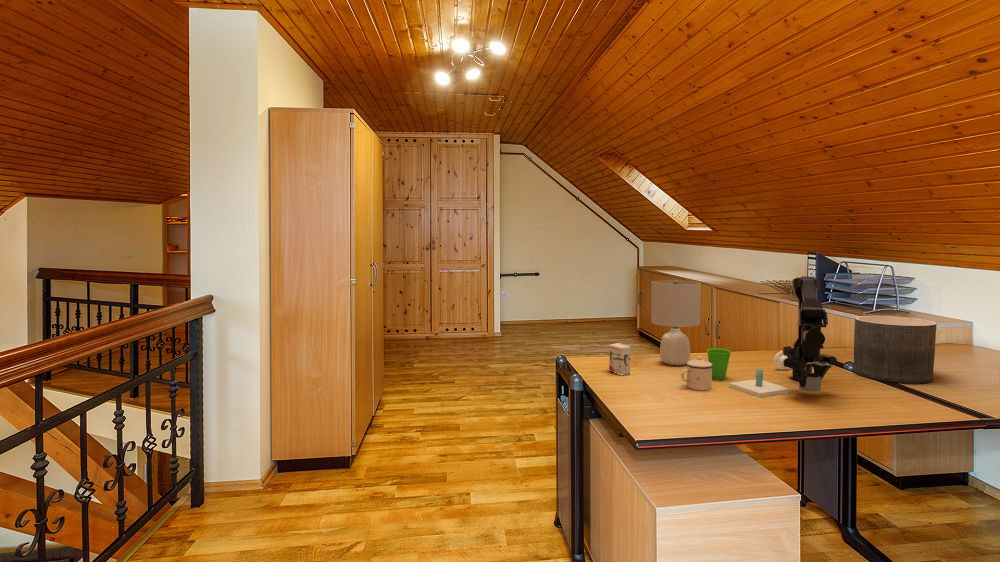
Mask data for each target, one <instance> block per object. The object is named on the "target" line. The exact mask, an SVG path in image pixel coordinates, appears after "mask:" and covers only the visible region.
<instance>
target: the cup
mask: <svg viewBox="0 0 1000 562" xmlns="http://www.w3.org/2000/svg"><path fill="white" fill-rule="evenodd" d="M705 352H707V359H708V362H710V363H711V364H712V366H713V367H712V380H716V381H724V380H725V379H726V377H727V372H728V367H729V363H730V362H729V361H730V356H731V354H732V351H731V350H729V349H725V348H724V349H723V348H707V349H706V351H705Z"/></svg>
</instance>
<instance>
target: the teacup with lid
mask: <svg viewBox="0 0 1000 562" xmlns="http://www.w3.org/2000/svg"><path fill="white" fill-rule="evenodd" d="M712 367H713V366H712V364H711V363H710V362H709V361H707V360H706V359H703V356H700V355H698V356H696V358H694V359H692V360H689V361H688V362H687V363H686V368H684V369H683V370H682V371H681V372H680V378H681V380H682V382H685V383H686V388H689V389H690V390H695V391H709V390H711V389H712V386H713V385H712V384H713V383H712V381H713V379H712ZM685 374H686V378H685Z"/></svg>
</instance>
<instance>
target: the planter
mask: <svg viewBox="0 0 1000 562" xmlns="http://www.w3.org/2000/svg"><path fill="white" fill-rule="evenodd" d="M853 337H854V338H853V366H852V367H853V368H852V370H853V373H855V374H857V375H859V376H862V377H863V378H866V379H869V380H870V379H871V380H876V381H880V382H887V383H893V384H895V383H896V384H897V383H898V384H909V385H914V384H915V385H916V384H917V385H919V384H920V385H921V384H928V383H931V382H933V381H934V367H935V353H936V339H937V338H936V337H937V322H935V321H933V320H928V319H924V318H923V319H922V318H916V317H907V316H906V317H905V316H895V315H894V316H893V315H892V316H891V315H861V316H856V317H854V334H853Z"/></svg>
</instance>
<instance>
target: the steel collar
mask: <svg viewBox="0 0 1000 562" xmlns="http://www.w3.org/2000/svg"><path fill="white" fill-rule="evenodd" d="M797 384H798V387H797V388H798V390H802V391H804V392H812V393H816V392H821V390H822V380H821V376H820V375H819V374H815V373H814V372H812V373H808V376H807V380H806V383H805V386H804V387H801V386H800V384H799V382H798V383H797Z"/></svg>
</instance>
